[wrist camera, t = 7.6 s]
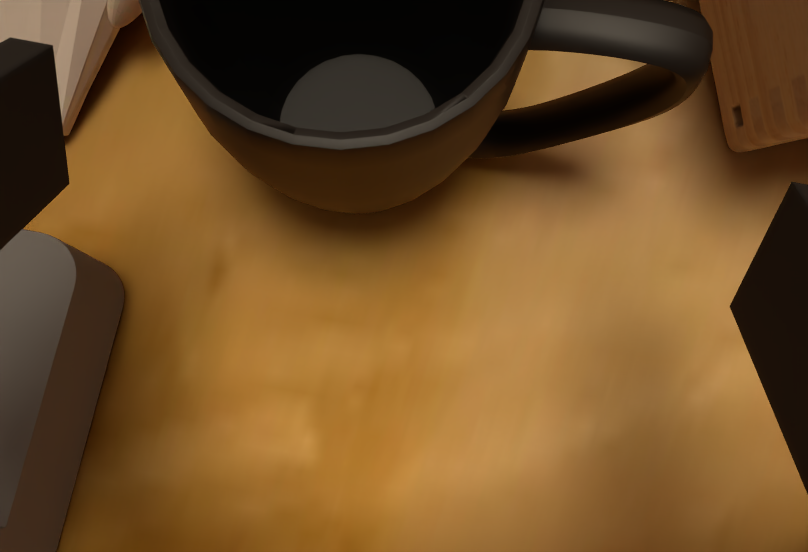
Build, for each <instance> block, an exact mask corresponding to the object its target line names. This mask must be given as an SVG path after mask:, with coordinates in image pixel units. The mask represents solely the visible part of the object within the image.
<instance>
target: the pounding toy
mask: <svg viewBox="0 0 808 552" xmlns="http://www.w3.org/2000/svg"><path fill="white" fill-rule="evenodd" d="M699 3H700V8H701V13H702V15H703V16H704V17H705V19H706V20H707V22H708V24H709V25H710V27H711V29H712V31H713V51H712V54H711V58H710V60H711V65H712V70H713V75H714V80H715V85H716V90H717V96H718V101H719V106H720V111H721V117H722V122H723V127H724V133H725V136H726V139H727V143H728V146H729V148H730V149H731V150H733V151H735V152H746V151H750V150H755V149H760V148H765V147H769V146H773V145H777V144H782V143H786V142H791V141H796V140H800V139H805V138H808V0H699Z"/></svg>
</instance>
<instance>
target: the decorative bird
mask: <svg viewBox="0 0 808 552" xmlns="http://www.w3.org/2000/svg"><path fill="white" fill-rule="evenodd" d="M141 13H142V10H141V7H140V4H139V1H138V0H0V43H1V42H3V41H4V40H6V39H8V38H10V37H11V38H17V39H22V40H28V41H33V42H38V43H44V44H49V45H53V50H54V58H55V67H56V75H57V83H58V92H59V100H60V109H61V117H62V126H63V134H64V136H66V135H69V134H70V132H71V129H72V127H73V125H74V123H75V120H76V118H77V116H78V114H79V111H80V109H81V107H82V105H83V102H84V100H85V98H86V96H87V93H88V91H89V89H90V87H91V85H92V83H93V81H94V79H95V77H96V75H97V73H98V71H99V69H100V67H101V65H102V63H103V61H104V59H105V57H106V55H107V53H108V51H109V49H110V47H111V45H112V43H113V41H114V39H115V37H116V35H117V33H118V31H119V29H120V28H121V27H124V26H126V25H128V24H129V23H131V22H132V21H133V20H134V19H135V18H137V17H138V16H139V15H140V14H141Z"/></svg>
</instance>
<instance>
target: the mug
mask: <svg viewBox="0 0 808 552" xmlns="http://www.w3.org/2000/svg"><path fill="white" fill-rule="evenodd" d="M138 1H139V4H140V7H141V10H142V13H143V16H144V19H145V22H146V26H147V29H148V32H149V35H150V38H151V41H152V43H153V44H154V46H155V47H156V49H157V51H158V52H159V54H160V55H161V57H162V59H163V60H164V62H165V64H166V65H167V67H168V68H169V70H170V72H171V73H172V75H173V76H174V78H175V80H176V81H177V83H178V84H179V86H180V88H181V89H182V91H183V92H184V94H185V95H186V97H187V99H188V100H189V102H190V103H191V105H192V107H193V108H194V110H195V111H196V113H197V115H198V116H199V118H200V119H201V121H202V122H203V124H204V125H205V127H206V128H207V129H208V131H209V132H210V134H211V135H212V136H213V137H214V138H215V139H216V140H217V141H218V142H219V143H220V144H221V145H222V146H223V147H224V148H225V149H226V150H227V151H228V152H229V153H230V154H231V155H232V156H233V157H234V158H235V159H236V160H237V161H238V162H239V163H240V164H241V165H242V166H244V167H245V168H246V169H247V170H248V171H249V172H250V173H251V174H253V175H254V176H256V177H257V178H259V179H260V180H262V181H264V182H265V183H267V184H268V185H270V186H272V187H273V188H275V189H277V190H278V191H280V192H282V193H283V194H285V195H286V196H288V197H290V198H292V199H295V200H297V201H300V202H303V203H306V204H309V205H312V206H315V207H318V208H321V209H323V210H327V211H336V212H344V213H353V214H365V213H374V212H380V211H383V210H386V209H389V208H392V207H395V206H398V205H401V204H404V203H407V202H410V201H412V200H414V199H415V198H417V197H419V196H420V195H422V194H424V193H425V192H427V191H429V190H430V189H432V188H434V187H435V186H437V185H438V184H440V183H442V182H443V181H444V180H445V179H446V178H447V177H448V176H449V175H450V174H452V173H453V172H454V171H455V170H456V169H457V168H458V167H459V166H460V165H461V164H462V163H463V162H464V161H465V160H466V159H467V158H477V159H489V158H501V157H508V156H514V155H519V154H524V153H528V152H532V151H537V150H541V149H545V148H549V147H553V146H557V145H561V144H565V143H568V142H572V141H576V140H579V139H583V138H587V137H590V136H594V135H597V134H601V133H605V132H608V131H612V130H615V129H619V128H622V127H625V126H629V125H632V124H635V123H638V122H641V121H644V120H647V119H650V118H653V117H655V116H658V115H660V114H663V113H665V112H667V111H669V110H671V109H673V108H674V107H676V106H678V105H679V104H681V103H682V102H683V101H685V100H686V99H687V98H688V97H689V96H690V95H691V94H692V93H693V92H694V91H695V89H696V88H697V86H698V84H699V83H700V81H701V79H702V78H703V76H704V74H705V73H706V71H707V68H708V65H709V61H710V58H711V54H712V51H713V31H712V29H711V27H710V25H709V24H708V22H707V20H706V19H705V17H704V16H703V15H701V14H700V13H698V12H697V11H695V10H693V9H690V8H688V7H685V6H682V5H679V4H676V3H672V2H669V1H665V0H138ZM528 50H549V51H564V52H575V53H585V54H594V55H602V56H609V57H616V58H622V59H628V60H633V61H638V62H643V63H647V64H646V65H644V66H642V67H640V68H638V69H636V70H634V71H631V72H629V73H627V74H624V75H622V76H619V77H617V78H614V79H612V80H609V81H607V82H604V83H601V84H599V85H596V86H593V87H590V88H588V89H585V90H582V91H579V92H576V93H573V94H570V95H567V96H564V97H561V98H558V99H555V100H551V101H548V102H545V103H541V104H537V105H533V106H529V107H525V108H520V109H514V110H506V111H502V110H503V109H504V107H505V105H506V104H507V101H508V99H509V97H510V94H511V92H512V89H513V87H514V85H515V82H516V80H517V77H518V74H519V72H520V69H521V67H522V64H523V62H524V59H525V56H526V54H527V51H528Z"/></svg>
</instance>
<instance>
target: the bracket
mask: <svg viewBox="0 0 808 552" xmlns="http://www.w3.org/2000/svg"><path fill="white" fill-rule="evenodd" d="M123 304H124V289H123V285H122V282H121V280H120V278H119V277H118V275H117V274H116V273H115V272H114V270H113V269H111V268H110V267H109V266H107V265H105V264H104V263H102V262H100V261H98V260H96V259H94V258H92V257H90V256H88V255H87V254H85V253H83V252H81V251H79V250H77V249H75V248H73V247H71V246H70V245H68V244H66V243H64V242H62V241H60V240H58V239H56V238H54V237H52V236H50V235H47V234H44V233H39V232H35V231H30V230H25V229H22V230H21V231H20V232H19V233H18V234H17V235H16V236H15V237H14V238H12V239H11V240H10V241H9V242H8V243H7V244H6V245H5V246H4V247H3V248H2V249H1V250H0V552H56V550H57V547H58V543H59V539H60V536H61V532H62V528H63V525H64V521H65V517H66V514H67V510H68V506H69V503H70V499H71V495H72V492H73V488H74V484H75V481H76V477H77V473H78V470H79V466H80V462H81V459H82V455H83V451H84V447H85V444H86V440H87V436H88V433H89V429H90V425H91V422H92V418H93V414H94V411H95V407H96V403H97V400H98V396H99V392H100V389H101V385H102V381H103V378H104V374H105V370H106V367H107V363H108V359H109V356H110V352H111V348H112V345H113V341H114V337H115V334H116V330H117V326H118V323H119V319H120V315H121V312H122V308H123Z"/></svg>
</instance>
